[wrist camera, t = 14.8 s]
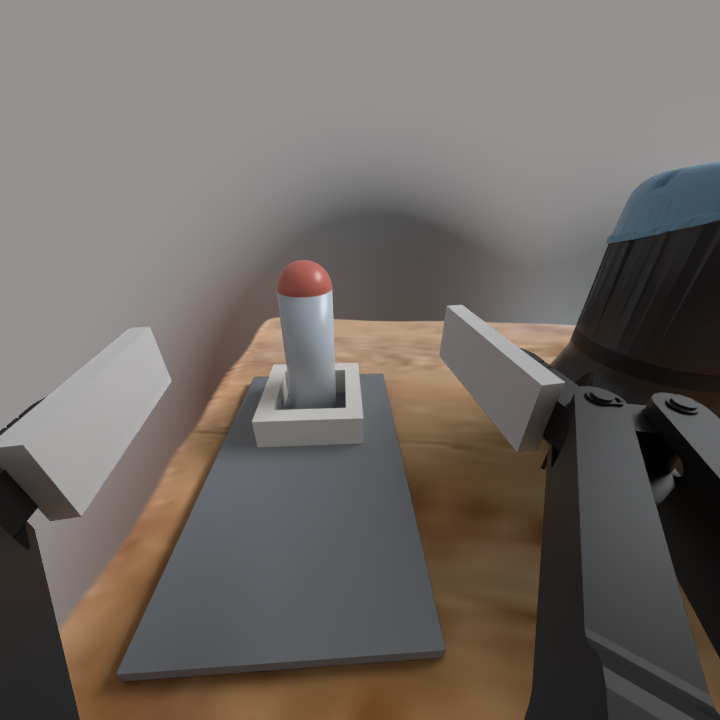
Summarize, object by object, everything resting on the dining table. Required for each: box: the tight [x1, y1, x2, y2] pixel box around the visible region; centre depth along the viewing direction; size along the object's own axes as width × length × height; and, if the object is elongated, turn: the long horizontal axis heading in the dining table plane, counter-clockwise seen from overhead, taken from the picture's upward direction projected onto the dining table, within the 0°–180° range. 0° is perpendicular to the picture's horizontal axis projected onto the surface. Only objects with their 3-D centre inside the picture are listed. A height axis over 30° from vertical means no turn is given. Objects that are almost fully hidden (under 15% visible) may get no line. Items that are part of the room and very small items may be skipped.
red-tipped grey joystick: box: [276, 260, 336, 409], centre depth 27 cm, size 4×4×15 cm
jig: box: [116, 363, 446, 681], centre depth 25 cm, size 26×16×4 cm, turn 3°
